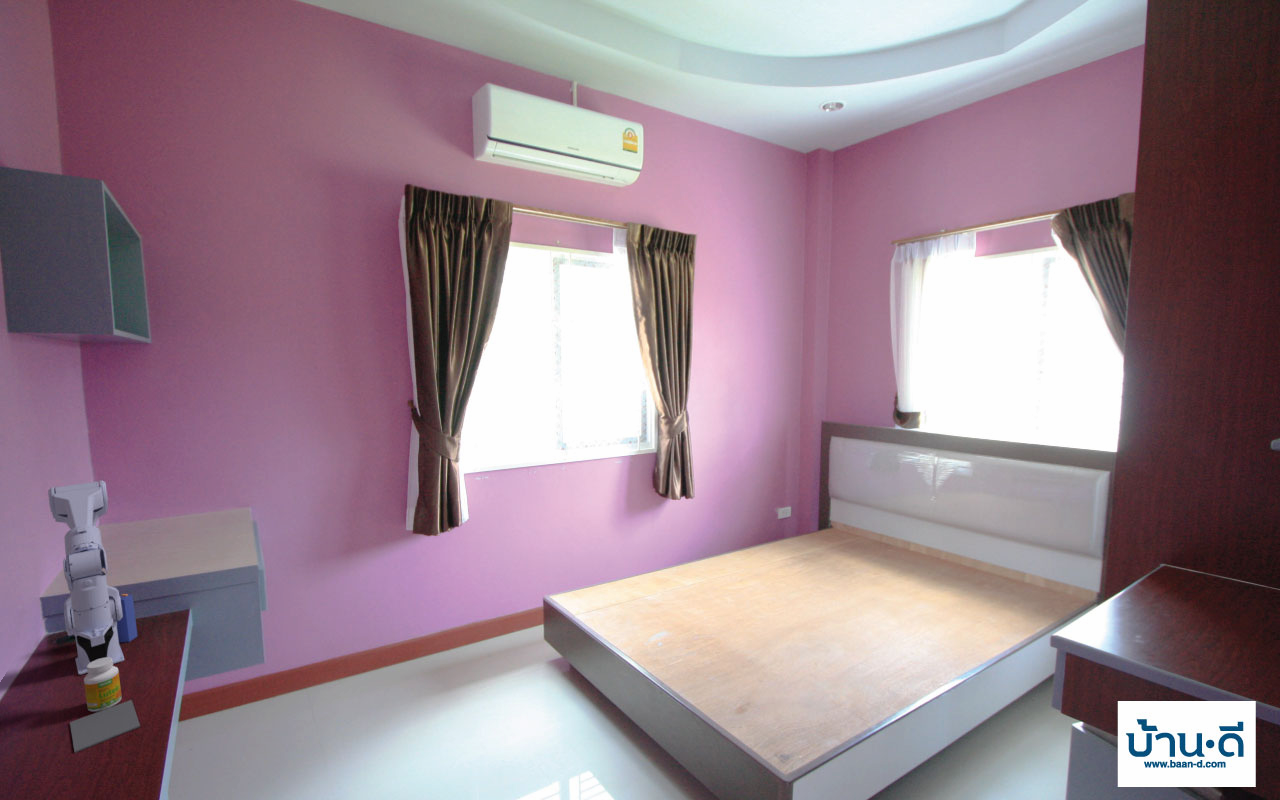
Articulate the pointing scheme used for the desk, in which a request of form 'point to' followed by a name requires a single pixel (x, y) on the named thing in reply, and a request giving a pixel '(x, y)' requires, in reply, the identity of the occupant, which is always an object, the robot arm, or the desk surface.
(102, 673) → the supplement bottle
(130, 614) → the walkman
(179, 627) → the desk surface
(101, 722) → the mat
